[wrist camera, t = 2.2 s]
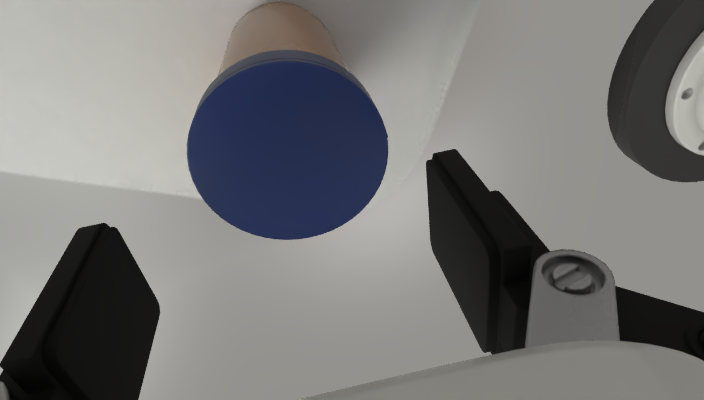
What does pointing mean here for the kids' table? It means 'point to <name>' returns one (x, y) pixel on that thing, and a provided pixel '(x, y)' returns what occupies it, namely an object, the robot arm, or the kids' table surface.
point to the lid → (287, 145)
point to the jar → (279, 34)
